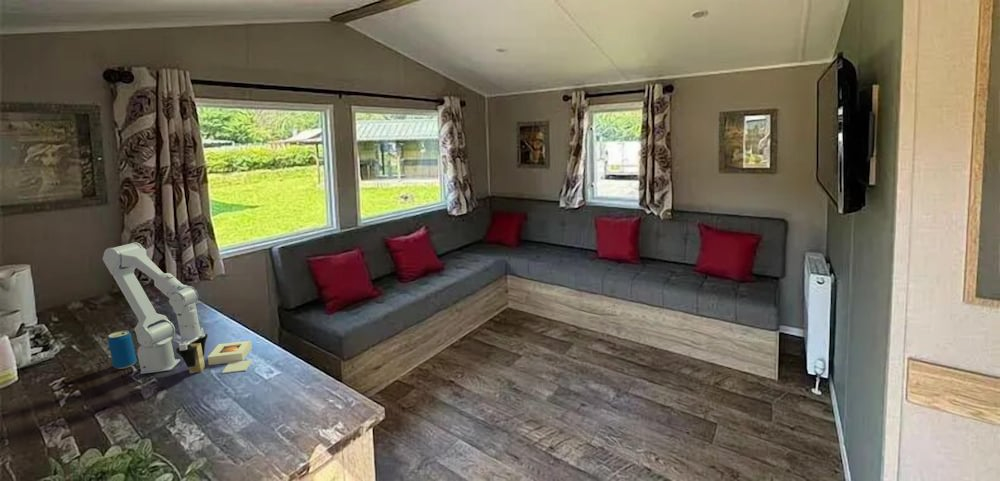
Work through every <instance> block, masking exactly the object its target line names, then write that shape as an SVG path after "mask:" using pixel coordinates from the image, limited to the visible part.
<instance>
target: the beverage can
mask: <svg viewBox="0 0 1000 481" xmlns="http://www.w3.org/2000/svg"><path fill="white" fill-rule="evenodd" d="M107 342H108V343H107V344H108V348H109V353H110V356H111V361H112V364H113V365H112V366H113V368H114V369H117V370H123V369H128V368H130V367H133V366H134V365H135V364H136V363H137V361H138V360H137V356H136V350H135V347H134V342H133V338H132V334H131V333H130V332H129V330H120V331H115V332H113V333H110V334H109V335H108V338H107Z"/></svg>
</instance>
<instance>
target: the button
mask: <svg viewBox="0 0 1000 481" xmlns="http://www.w3.org/2000/svg"><path fill="white" fill-rule="evenodd" d="M237 350H238V347H228V348H226V349H224V350H223V351H222V353H224V352H233V351H237Z"/></svg>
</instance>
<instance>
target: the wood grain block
mask: <svg viewBox="0 0 1000 481" xmlns="http://www.w3.org/2000/svg"><path fill="white" fill-rule="evenodd" d="M190 346H191V347H195V346H197V349H196V353H195V360H196V364H195V366H194V367H188V370H189V374H196V373H201V372H203V370H204V369H206V364H205V358H204V356H203V352H202V347H201V343H196V344H190ZM195 372H196V373H195Z"/></svg>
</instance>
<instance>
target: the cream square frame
mask: <svg viewBox="0 0 1000 481" xmlns="http://www.w3.org/2000/svg"><path fill="white" fill-rule="evenodd" d="M228 347H238V350H237V351H233V352H224V353H222V351H223V350H224V349H226V348H228ZM252 349H253V347H252V340H244V341H235V342H233V341H232V342H225V343H218V345H216V347H215V348H214V349H213V350H212V352H210V354H209V355H207V362H208V365H209V366H214V365H221V364H222V365H223V364H228V363H230V362H238V361H245V359H246V358H247V356H248V355H249V353H250V352H251V350H252Z"/></svg>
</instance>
